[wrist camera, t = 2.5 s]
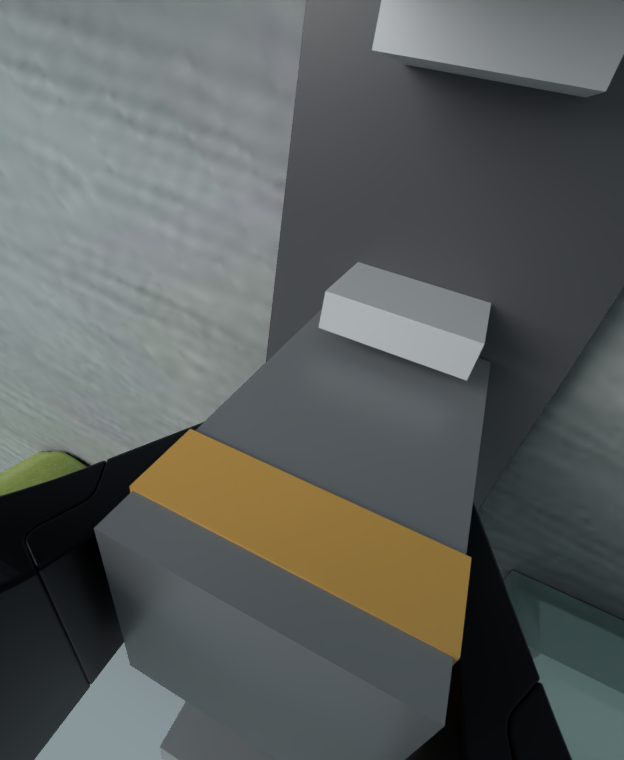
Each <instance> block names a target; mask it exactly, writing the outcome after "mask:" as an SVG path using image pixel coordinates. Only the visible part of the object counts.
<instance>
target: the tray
mask: <svg viewBox="0 0 624 760" xmlns="http://www.w3.org/2000/svg"><path fill="white" fill-rule="evenodd" d="M503 581H504V584H505V586H506V589H507V591H508V594H509V597H510V599H511V602H512V605H513V607H514V610H515V613H516V615H517V618H518V621H519V623H520V626H521V629H522V631H523V634H524V637H525V639H526V642H527V645H528V647H529V650H530V653H531V655H532V658H533V661H534V663H535V666H536V669H537V671H538V674H539V676H540V680H539V682H540V683H542V684H543V687H544V689H545V692H546V695H547V697H548V700H549V703H550V705H551V708H552V711H553V713H554V716H555V718H556V721H557V723H558V726H559V728H560V731H561V733H562V736H563V738H564V741H565V743H566V746H567V748H568V751H569V753H570V756H571V758H572V760H624V621H623V620H621V619H619V618H617V617H615V616H612V615H610V614H608V613H606V612H604V611H601V610H599V609H597V608H595V607H593V606H590V605H588V604H586V603H584V602H582V601H579V600H577V599H575V598H573V597H571V596H568V595H566V594H564V593H562V592H560V591H557V590H555V589H553V588H551V587H549V586H546V585H544V584H542V583H540V582H538V581H535V580H533V579H531V578H529V577H527V576H524V575H522V574H520V573H518V572H516V571H513V570H512V571H511V572H510V573H509V574H508V575H507V576H506V578H505V579H504V580H503Z"/></svg>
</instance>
